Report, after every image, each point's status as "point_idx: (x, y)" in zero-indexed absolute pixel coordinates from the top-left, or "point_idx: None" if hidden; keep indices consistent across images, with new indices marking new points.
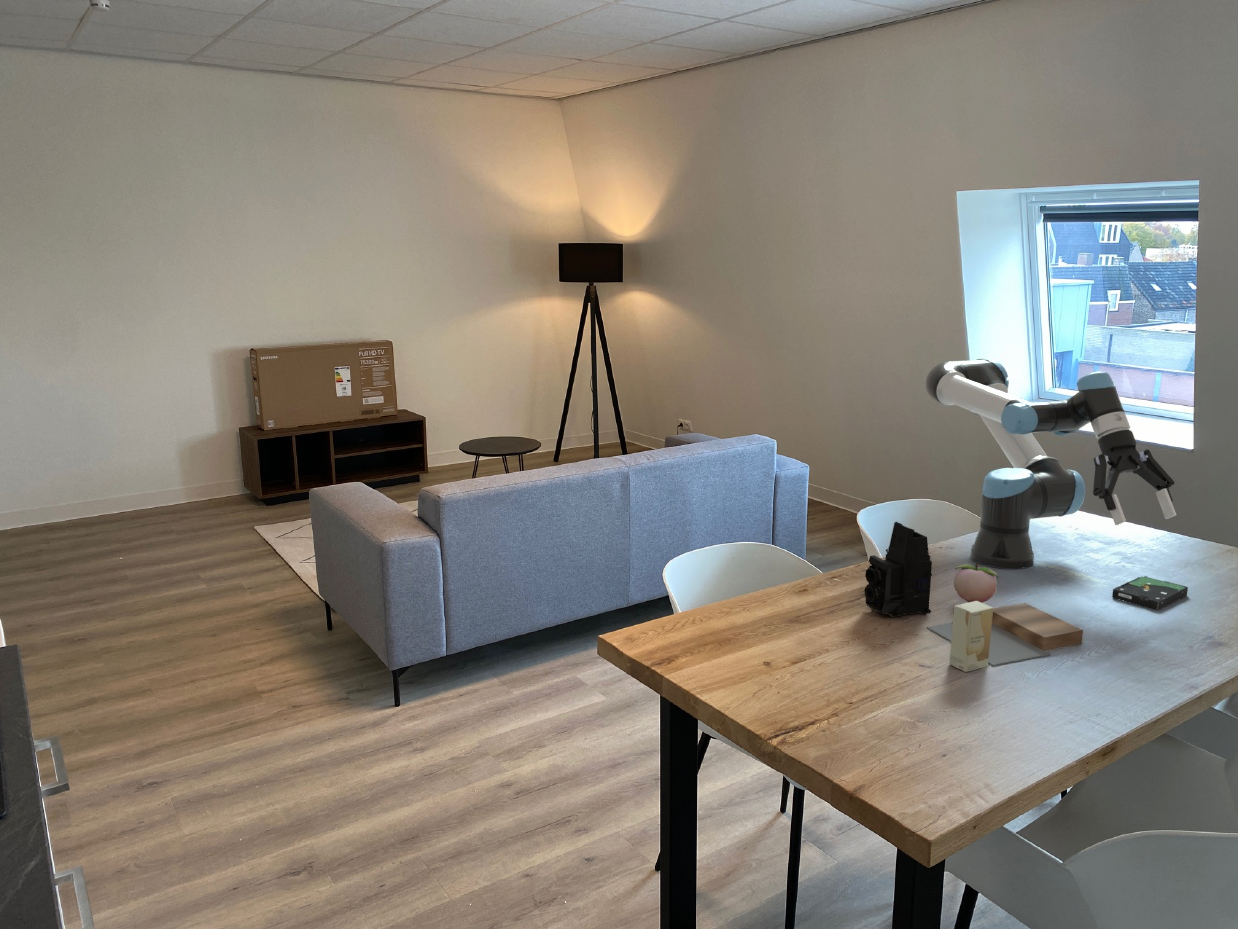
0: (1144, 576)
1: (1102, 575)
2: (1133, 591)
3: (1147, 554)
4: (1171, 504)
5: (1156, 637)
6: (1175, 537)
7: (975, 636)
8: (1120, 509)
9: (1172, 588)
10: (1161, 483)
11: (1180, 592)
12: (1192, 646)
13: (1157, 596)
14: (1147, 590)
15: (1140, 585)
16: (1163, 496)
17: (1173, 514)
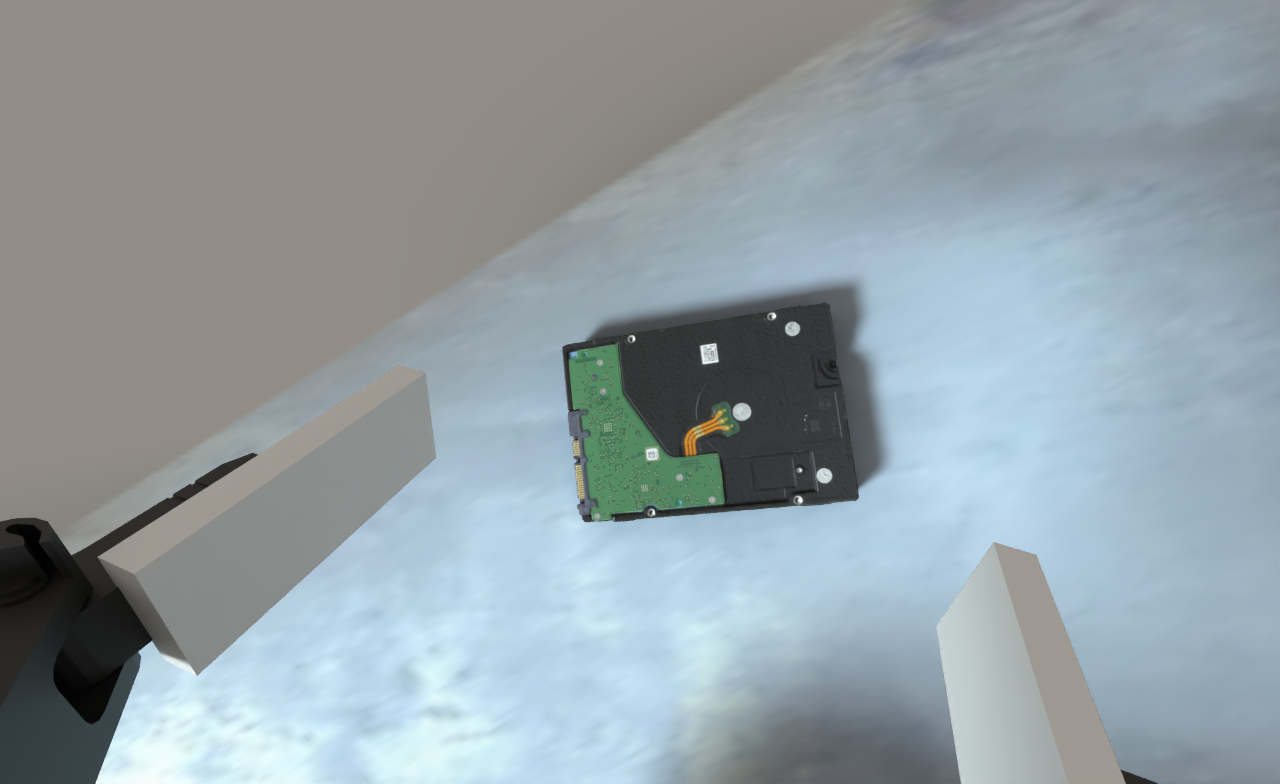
0: (586, 512)
1: (632, 670)
2: (803, 432)
3: (273, 687)
4: (326, 422)
5: (1124, 132)
6: None
7: None
8: (1062, 685)
9: (628, 367)
10: (17, 658)
11: (628, 335)
12: (1076, 20)
13: (771, 343)
14: (739, 406)
15: (703, 460)
16: (252, 537)
17: (418, 379)
